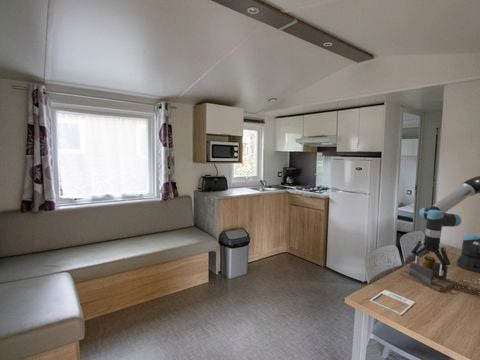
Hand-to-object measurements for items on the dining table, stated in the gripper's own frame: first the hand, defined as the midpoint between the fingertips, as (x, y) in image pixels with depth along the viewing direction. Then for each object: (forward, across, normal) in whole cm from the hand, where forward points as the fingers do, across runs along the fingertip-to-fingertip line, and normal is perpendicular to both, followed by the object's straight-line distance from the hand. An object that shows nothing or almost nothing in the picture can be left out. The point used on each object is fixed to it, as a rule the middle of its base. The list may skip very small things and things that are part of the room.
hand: (428, 270), depth 161 cm
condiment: (+4, +1, 0) cm, 5 cm away
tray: (+6, 0, 0) cm, 6 cm away
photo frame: (+7, +7, -44) cm, 45 cm away
